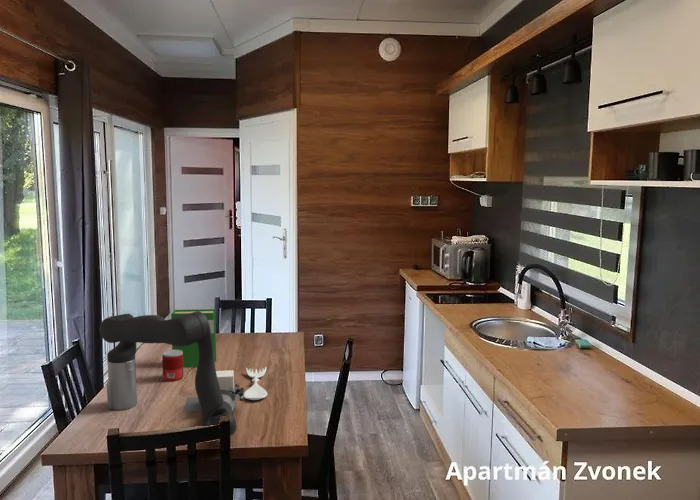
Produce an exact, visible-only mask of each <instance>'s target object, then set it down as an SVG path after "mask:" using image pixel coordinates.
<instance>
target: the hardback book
mask: <svg viewBox="0 0 700 500" xmlns="http://www.w3.org/2000/svg"><path fill="white" fill-rule="evenodd" d="M198 311H199V312H202V313H203V314H204V315H205V316H206V317H207V319H208V322H209V325H210V330H211V337H212V344H213V353H214V362H215V363H216V362H217V333H216V332H217V331H216V330H217V329H216V322H217V321H216V308H202V309H201V308H200V309H198V308H194V309H174V310H172V312H171V314H170V319H173V318H176V317H179V316H182V315H186V314H189V313H193V312H198ZM171 350H181V351H183V369H186V368H197V367H198V361H199V350H198V345H197V342H196V343H194V344H191V345H188V346H183V347H180V346H175V345H171Z"/></svg>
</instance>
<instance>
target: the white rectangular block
mask: <svg viewBox="0 0 700 500" xmlns="http://www.w3.org/2000/svg"><path fill="white" fill-rule="evenodd" d="M234 374H235V373H234V369H233V370H228V369H227V370H216V375H217V379H218V382H219V386H220V389H221V390H230V389H231V388H233V389H234V388H235V381H234V380H235V375H234ZM233 406H234V404H233Z"/></svg>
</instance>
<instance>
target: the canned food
mask: <svg viewBox="0 0 700 500" xmlns="http://www.w3.org/2000/svg"><path fill="white" fill-rule="evenodd" d="M161 354H162V355H161V356H162V378H163V380H164V381H166V382H176V381H177V382H178V381H180V380H182V379H183V378H184V368H183V351H181V350H172V349H170V350H169V349H168V350H165V351H164V352H162V353H161Z"/></svg>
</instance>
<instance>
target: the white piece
mask: <svg viewBox="0 0 700 500" xmlns="http://www.w3.org/2000/svg"><path fill="white" fill-rule="evenodd" d="M245 371H246V374H247V376H248V377H250V378H251V382H253V384H252V385H251V386H250V387H249V388H247V390H244V398H245V399H247V400H249V401H250V400H252V401H257V400H261V399H264V398H266V397H267V396H268V392H267V390H266V389H264V387H262V386H260V385H259V384H258V382H260V378H262V377H263V376H264V375H265V374H266V371H267V366H265V368H264V367H262V369H261V368H259V369H258V368H255V370H254V369H253V368H250V367H249V369H248V368H247V367H245Z"/></svg>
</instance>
